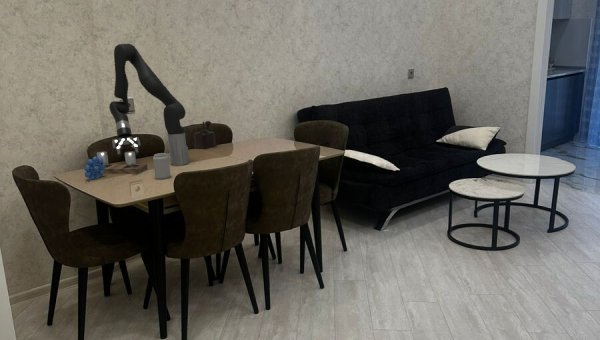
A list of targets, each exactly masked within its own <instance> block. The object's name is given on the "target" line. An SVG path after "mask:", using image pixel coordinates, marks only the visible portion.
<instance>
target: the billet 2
mask: <svg viewBox="0 0 600 340" xmlns="http://www.w3.org/2000/svg"><path fill="white" fill-rule="evenodd" d="M124 159H125V164H126V168H135V167H136V164H137V160H136V152H135V150H134V151H133V150H131V151H125V152H124Z"/></svg>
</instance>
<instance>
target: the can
mask: <svg viewBox="0 0 600 340" xmlns="http://www.w3.org/2000/svg"><path fill="white" fill-rule="evenodd" d="M152 162H153V169H154V172H153V173H154V178H156V179H157V180H166V179H169V178H170V176H171V168H170V167H171V166H170V165H171V164H170V156H169V155H168V154H167V153H165V152H161V153H155V154H153V158H152Z"/></svg>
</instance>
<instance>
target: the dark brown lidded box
mask: <svg viewBox="0 0 600 340" xmlns="http://www.w3.org/2000/svg"><path fill="white" fill-rule="evenodd" d="M211 125H212V122H211V121H210V120H206V121H202V129H201V130H199V131H198V132H194V133H192V137H193V147H194V149H199V150H200V149H203V150H207V149H212V148H215V147H217V139H216V138H217V137H216V135H217V134H216V132H214V131H209V130H210V129H211V128H212V127H211ZM205 128H206V129H205ZM208 129H209V130H208Z"/></svg>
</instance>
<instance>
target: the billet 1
mask: <svg viewBox="0 0 600 340" xmlns="http://www.w3.org/2000/svg"><path fill="white" fill-rule="evenodd" d="M96 156H97V157H98V159H99V158H102V159H103V163H104V164H105V168H107V167H109V164H110V163H109V158H108V157H109V156H108V152H107V151H98V152H96Z"/></svg>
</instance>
